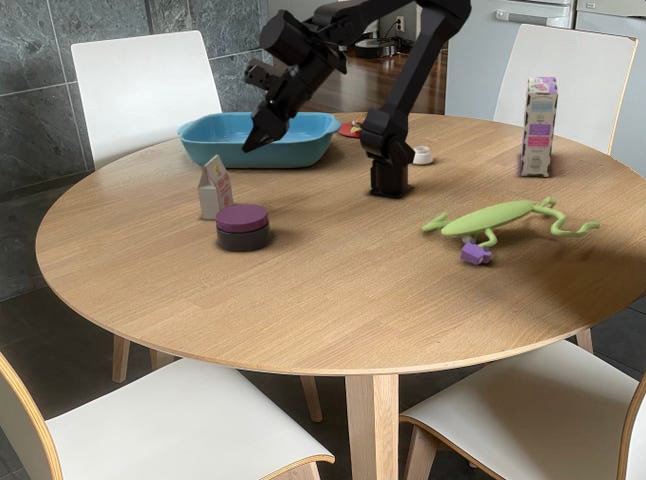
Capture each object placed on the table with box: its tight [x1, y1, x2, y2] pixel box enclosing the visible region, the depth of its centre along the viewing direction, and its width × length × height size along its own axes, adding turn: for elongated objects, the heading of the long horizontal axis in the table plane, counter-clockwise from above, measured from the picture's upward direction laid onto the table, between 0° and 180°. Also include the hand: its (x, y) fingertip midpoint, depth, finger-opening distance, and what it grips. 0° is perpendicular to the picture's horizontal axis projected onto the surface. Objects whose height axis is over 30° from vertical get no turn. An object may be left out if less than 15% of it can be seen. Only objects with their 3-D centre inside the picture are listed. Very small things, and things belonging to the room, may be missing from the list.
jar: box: [215, 218, 272, 253], centre depth 127 cm, size 9×9×4 cm
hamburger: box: [336, 112, 367, 138], centre depth 177 cm, size 14×14×6 cm
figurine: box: [422, 196, 601, 266], centre depth 121 cm, size 18×27×6 cm
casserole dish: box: [176, 111, 343, 169], centre depth 163 cm, size 37×22×7 cm, turn 80°
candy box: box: [520, 76, 559, 178], centre depth 148 cm, size 14×6×16 cm, turn 168°
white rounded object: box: [412, 145, 434, 166], centre depth 157 cm, size 5×3×5 cm
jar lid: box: [215, 203, 269, 233], centre depth 125 cm, size 9×9×2 cm
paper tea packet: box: [197, 155, 235, 220], centre depth 136 cm, size 4×7×10 cm, turn 167°
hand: (248, 142), depth 131 cm, fingers open, 9 cm apart
